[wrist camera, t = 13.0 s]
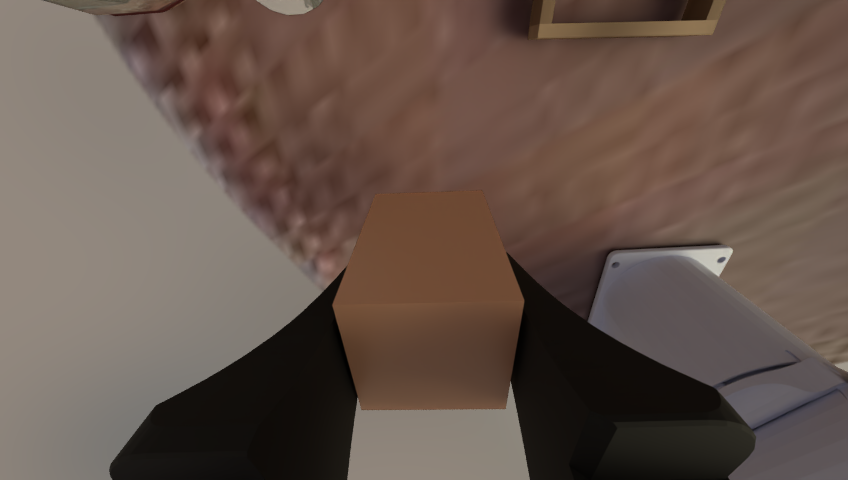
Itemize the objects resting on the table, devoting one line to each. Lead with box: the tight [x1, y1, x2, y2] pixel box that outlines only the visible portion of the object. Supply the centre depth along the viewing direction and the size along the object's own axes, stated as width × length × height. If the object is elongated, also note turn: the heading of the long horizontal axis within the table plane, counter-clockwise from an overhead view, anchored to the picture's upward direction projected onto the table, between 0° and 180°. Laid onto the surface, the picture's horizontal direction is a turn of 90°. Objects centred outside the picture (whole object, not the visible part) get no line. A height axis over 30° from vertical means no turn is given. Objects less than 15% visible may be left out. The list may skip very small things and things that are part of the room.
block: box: [332, 190, 524, 410], centre depth 11 cm, size 4×4×6 cm
